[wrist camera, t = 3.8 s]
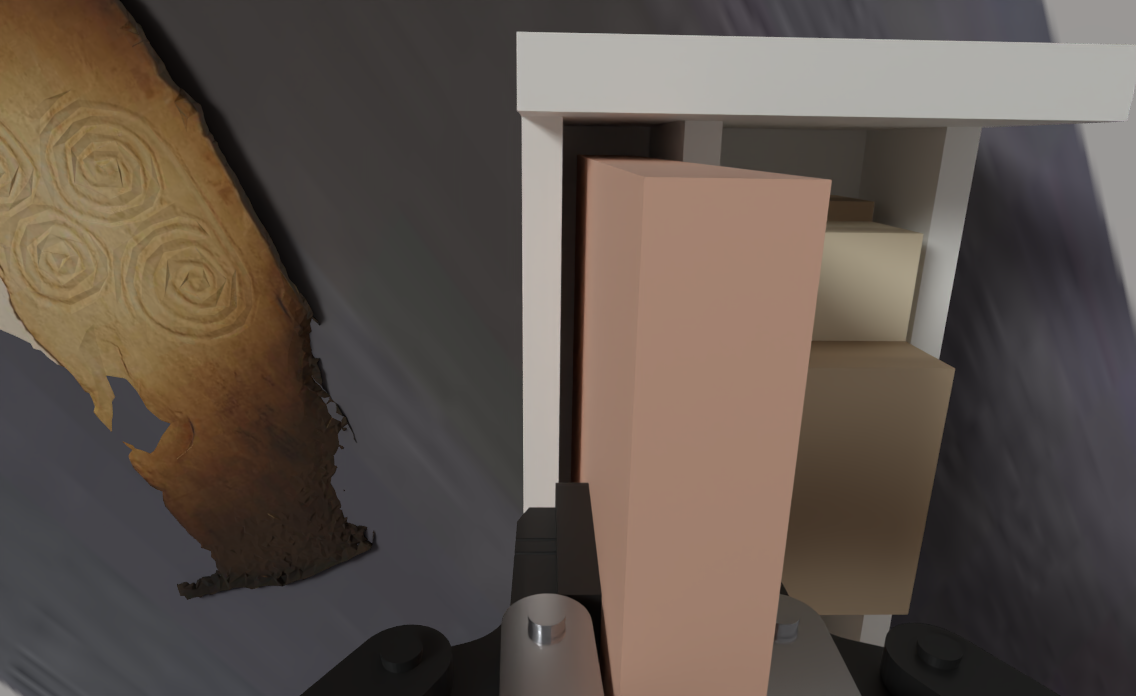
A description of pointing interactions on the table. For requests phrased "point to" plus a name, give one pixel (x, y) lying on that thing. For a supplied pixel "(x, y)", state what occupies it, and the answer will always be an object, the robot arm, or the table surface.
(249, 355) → the parchment
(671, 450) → the board
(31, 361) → the table surface
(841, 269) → the offcut mid
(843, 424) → the offcut small
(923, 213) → the rack
